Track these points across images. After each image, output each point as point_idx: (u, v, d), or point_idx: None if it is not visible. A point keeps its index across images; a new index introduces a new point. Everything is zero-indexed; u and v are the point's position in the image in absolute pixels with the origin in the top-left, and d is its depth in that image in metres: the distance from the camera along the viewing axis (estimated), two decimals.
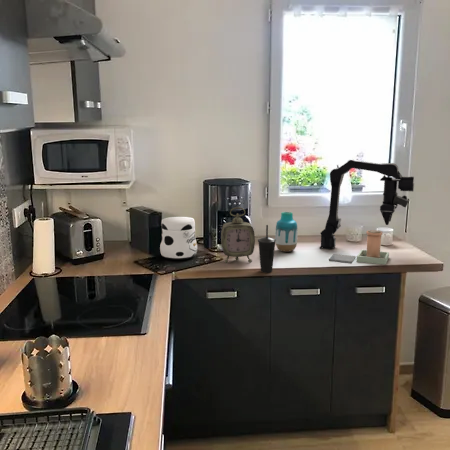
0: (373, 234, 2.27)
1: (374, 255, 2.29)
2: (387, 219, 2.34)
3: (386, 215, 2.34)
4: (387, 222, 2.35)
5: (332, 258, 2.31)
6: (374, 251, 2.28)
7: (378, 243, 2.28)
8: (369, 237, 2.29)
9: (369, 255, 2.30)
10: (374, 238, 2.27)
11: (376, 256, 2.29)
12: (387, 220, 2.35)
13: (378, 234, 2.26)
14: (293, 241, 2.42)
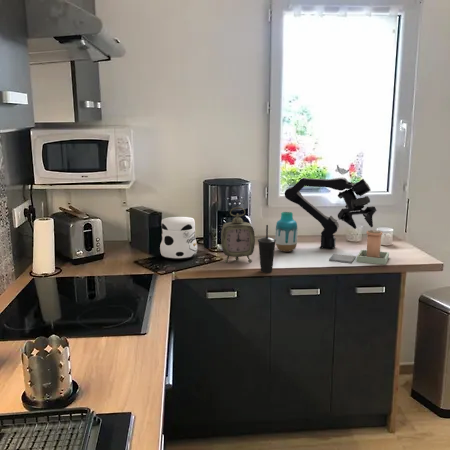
0: (373, 234, 2.27)
1: (374, 255, 2.29)
2: (351, 223, 2.36)
3: (348, 220, 2.38)
4: (353, 225, 2.35)
5: (332, 258, 2.31)
6: (374, 251, 2.28)
7: (378, 243, 2.28)
8: (369, 237, 2.29)
9: (369, 255, 2.30)
10: (374, 238, 2.27)
11: (376, 256, 2.29)
12: (352, 224, 2.36)
13: (378, 234, 2.26)
14: (293, 241, 2.42)
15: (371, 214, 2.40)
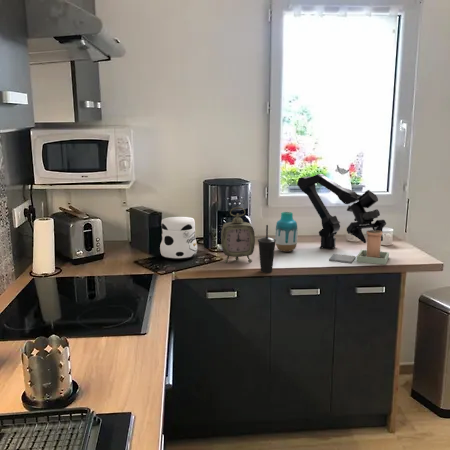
0: (373, 234, 2.27)
1: (374, 255, 2.29)
2: (361, 237, 2.30)
3: (358, 234, 2.32)
4: (363, 240, 2.29)
5: (332, 258, 2.31)
6: (374, 251, 2.28)
7: (378, 243, 2.28)
8: (369, 237, 2.29)
9: (369, 255, 2.30)
10: (374, 238, 2.27)
11: (376, 256, 2.29)
12: (362, 238, 2.30)
13: (378, 234, 2.26)
14: (293, 241, 2.42)
15: (381, 228, 2.34)
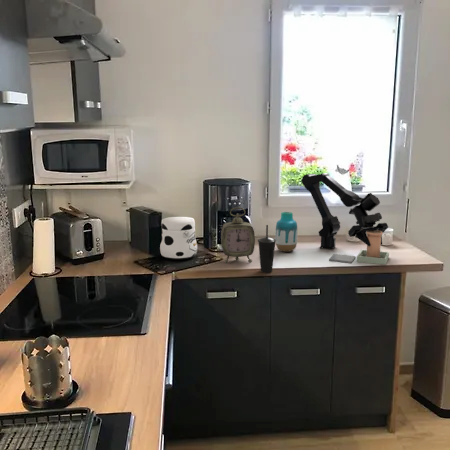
0: (373, 234, 2.27)
1: (374, 255, 2.29)
2: (365, 240, 2.29)
3: (362, 237, 2.31)
4: (367, 243, 2.29)
5: (332, 258, 2.31)
6: (374, 251, 2.28)
7: (378, 243, 2.28)
8: (369, 237, 2.29)
9: (369, 255, 2.30)
10: (374, 238, 2.27)
11: (376, 256, 2.29)
12: (366, 241, 2.29)
13: (378, 234, 2.26)
14: (293, 241, 2.42)
15: None
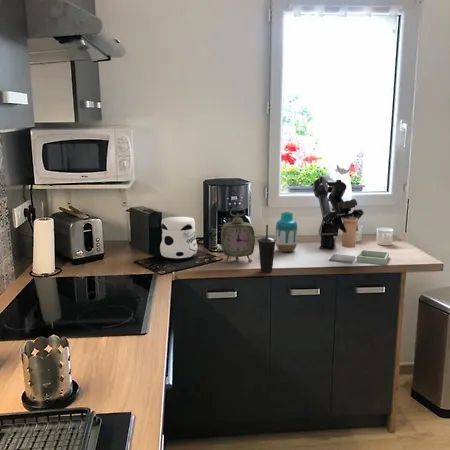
0: (349, 220, 2.26)
1: (350, 241, 2.28)
2: (341, 227, 2.29)
3: (338, 224, 2.30)
4: (343, 229, 2.28)
5: (332, 258, 2.31)
6: (350, 238, 2.28)
7: (354, 229, 2.28)
8: (345, 223, 2.28)
9: (345, 241, 2.29)
10: (350, 224, 2.27)
11: (352, 242, 2.29)
12: (342, 227, 2.29)
13: (354, 220, 2.26)
14: (293, 241, 2.42)
15: (356, 217, 2.32)
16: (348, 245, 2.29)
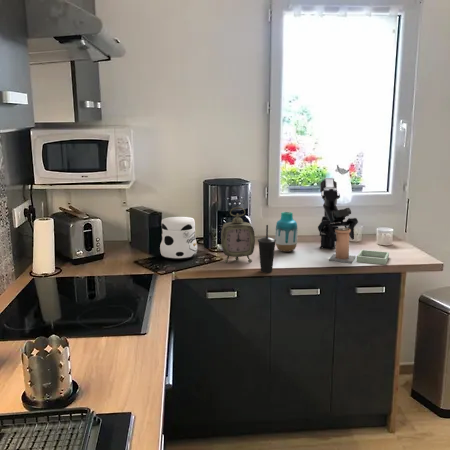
0: (341, 232, 2.27)
1: (343, 253, 2.30)
2: (332, 235, 2.29)
3: (329, 233, 2.31)
4: (334, 238, 2.28)
5: (332, 258, 2.31)
6: (342, 249, 2.29)
7: (346, 241, 2.29)
8: (337, 235, 2.30)
9: (338, 253, 2.31)
10: (342, 236, 2.28)
11: (345, 254, 2.30)
12: (332, 236, 2.29)
13: (346, 232, 2.27)
14: (293, 241, 2.42)
15: (352, 226, 2.33)
16: (341, 256, 2.30)
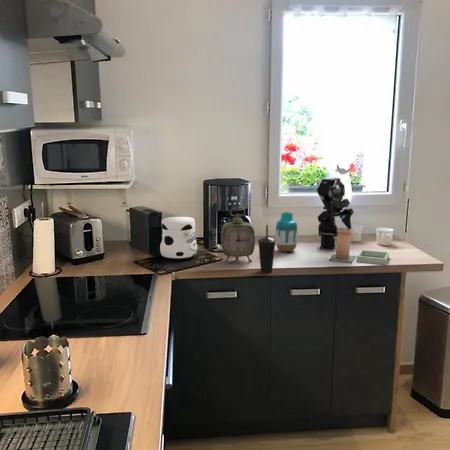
0: (343, 231, 2.27)
1: (343, 253, 2.30)
2: (332, 226, 2.33)
3: (329, 223, 2.34)
4: (334, 229, 2.33)
5: (332, 258, 2.31)
6: (343, 249, 2.29)
7: (348, 241, 2.29)
8: (339, 234, 2.29)
9: (338, 252, 2.31)
10: (344, 236, 2.28)
11: (345, 254, 2.30)
12: (333, 227, 2.33)
13: (348, 232, 2.27)
14: (293, 241, 2.42)
15: (349, 216, 2.39)
16: (342, 256, 2.30)
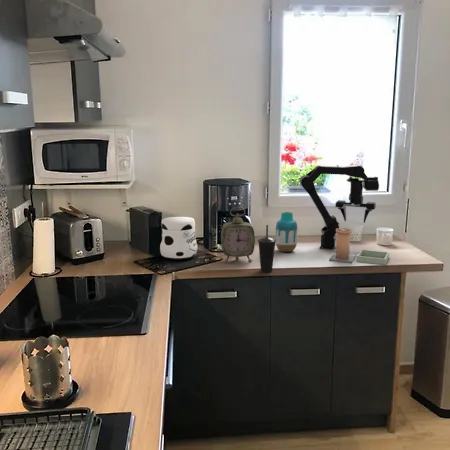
0: (342, 232, 2.27)
1: (343, 253, 2.30)
2: (366, 217, 2.49)
3: None
4: (365, 220, 2.49)
5: (332, 258, 2.31)
6: (343, 249, 2.29)
7: (347, 241, 2.29)
8: (338, 235, 2.29)
9: (338, 253, 2.31)
10: (343, 236, 2.28)
11: (345, 254, 2.30)
12: None
13: (347, 232, 2.27)
14: (293, 241, 2.42)
15: None
16: (341, 256, 2.30)
